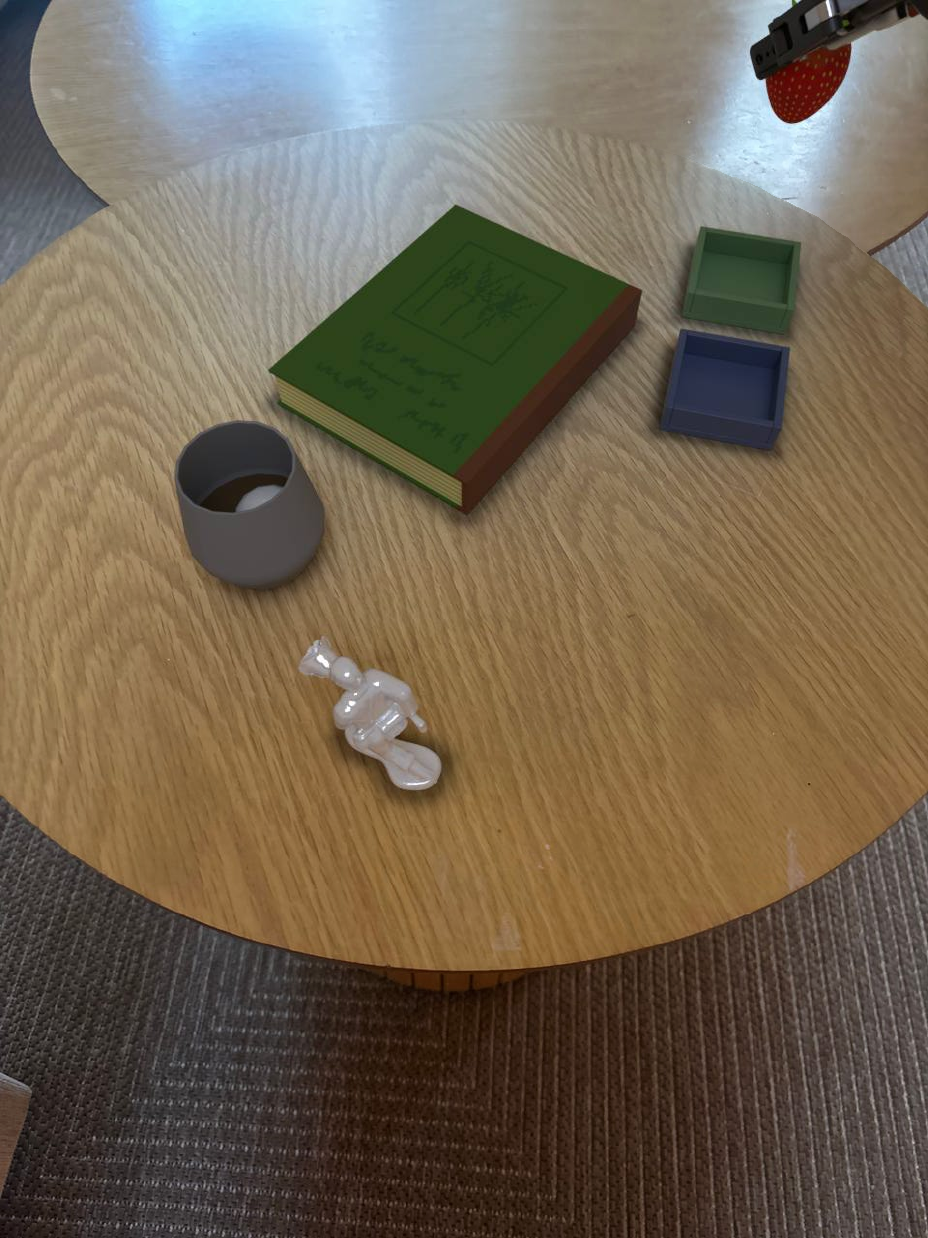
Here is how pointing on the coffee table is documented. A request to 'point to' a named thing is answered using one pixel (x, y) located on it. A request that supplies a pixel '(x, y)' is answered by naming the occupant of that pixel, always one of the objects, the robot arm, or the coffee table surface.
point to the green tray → (742, 280)
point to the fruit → (808, 83)
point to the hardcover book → (457, 354)
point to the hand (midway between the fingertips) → (789, 50)
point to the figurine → (376, 716)
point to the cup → (248, 505)
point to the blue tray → (726, 389)
